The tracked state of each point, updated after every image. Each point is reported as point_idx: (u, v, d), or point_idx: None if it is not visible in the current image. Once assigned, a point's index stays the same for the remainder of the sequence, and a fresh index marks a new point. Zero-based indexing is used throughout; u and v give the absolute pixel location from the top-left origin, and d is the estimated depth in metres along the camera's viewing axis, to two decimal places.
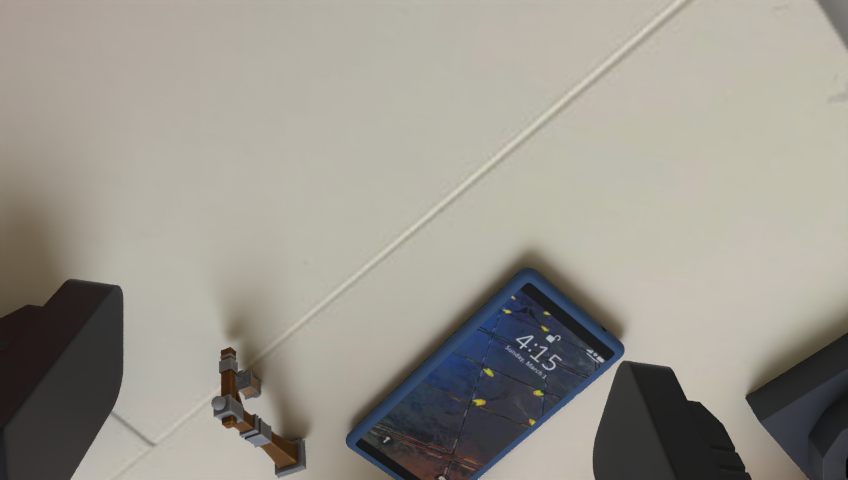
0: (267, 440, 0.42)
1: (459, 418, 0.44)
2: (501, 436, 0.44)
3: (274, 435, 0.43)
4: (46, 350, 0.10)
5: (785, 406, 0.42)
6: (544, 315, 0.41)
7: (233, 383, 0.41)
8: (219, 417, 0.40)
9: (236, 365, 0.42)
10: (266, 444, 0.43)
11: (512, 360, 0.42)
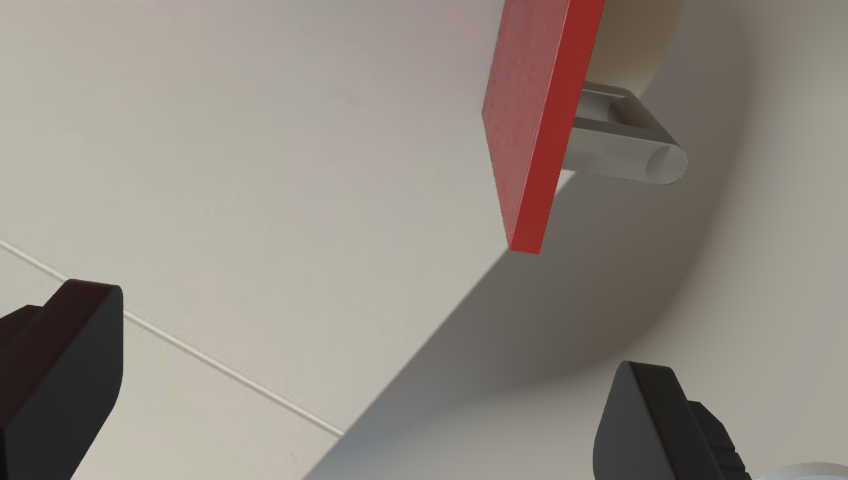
0: None
1: None
2: None
3: None
4: (46, 350, 0.10)
5: None
6: None
7: None
8: None
9: None
10: None
11: None
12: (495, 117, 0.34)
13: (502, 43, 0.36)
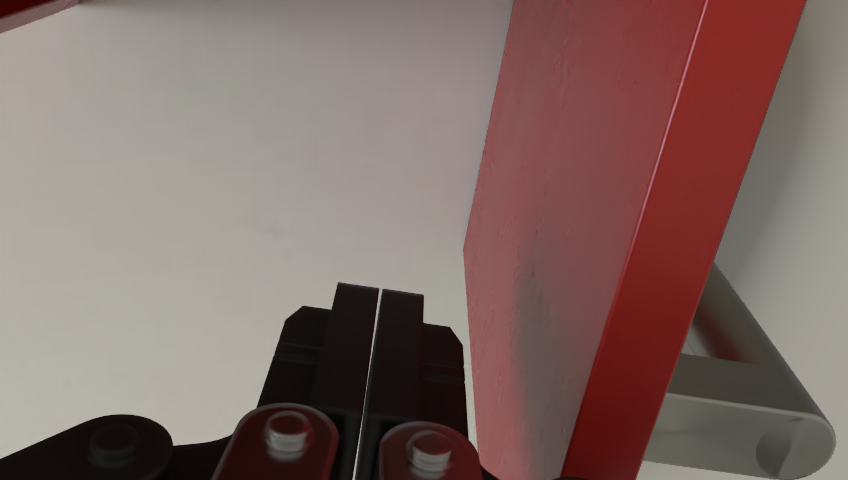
0: None
1: None
2: None
3: None
4: (357, 346, 0.11)
5: None
6: None
7: None
8: None
9: None
10: None
11: None
12: (479, 292, 0.21)
13: (491, 161, 0.22)
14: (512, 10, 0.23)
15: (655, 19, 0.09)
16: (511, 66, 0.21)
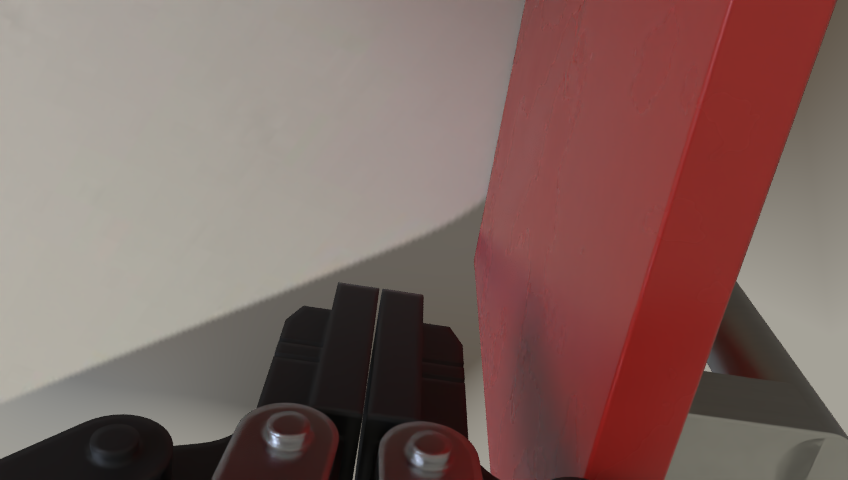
0: None
1: None
2: None
3: None
4: (357, 347, 0.11)
5: None
6: None
7: None
8: None
9: None
10: None
11: None
12: (491, 305, 0.20)
13: (502, 171, 0.22)
14: (522, 18, 0.23)
15: (670, 37, 0.09)
16: (521, 75, 0.21)
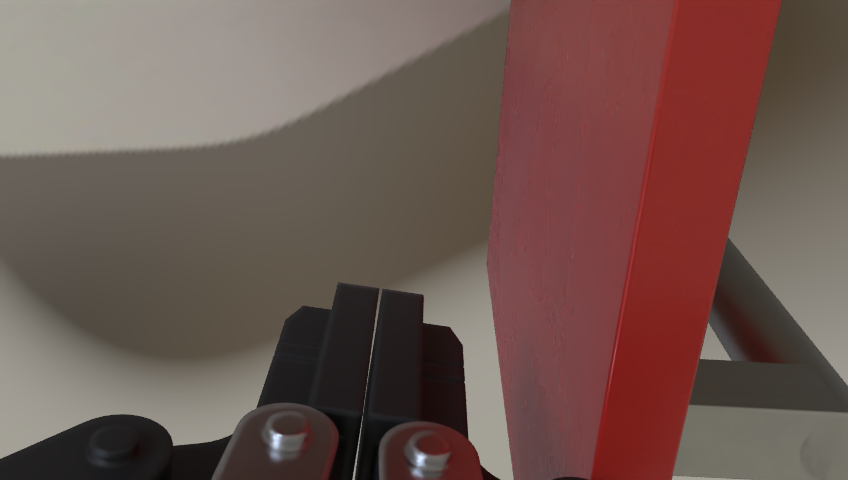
0: None
1: None
2: None
3: None
4: (357, 347, 0.11)
5: None
6: None
7: None
8: None
9: None
10: None
11: None
12: (503, 310, 0.20)
13: (503, 174, 0.22)
14: (509, 19, 0.23)
15: (629, 37, 0.09)
16: (512, 77, 0.21)
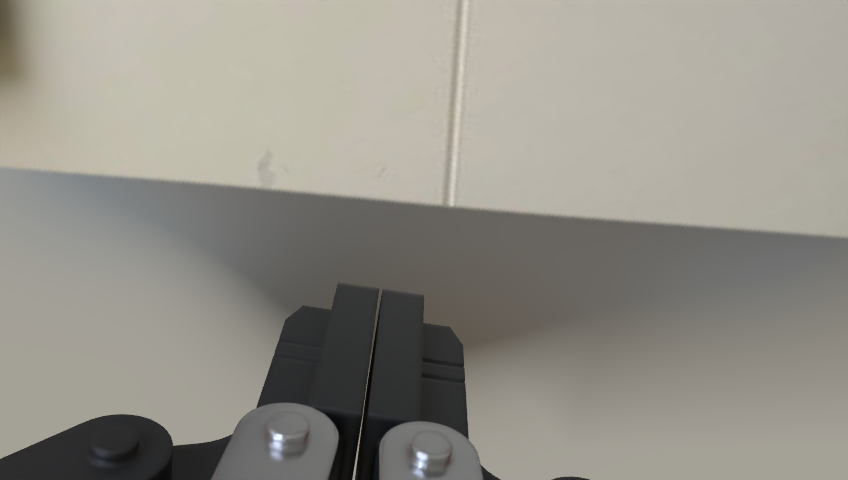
0: None
1: None
2: None
3: None
4: (357, 346, 0.11)
5: None
6: None
7: None
8: None
9: None
10: None
11: None
12: None
13: None
14: None
15: None
16: None
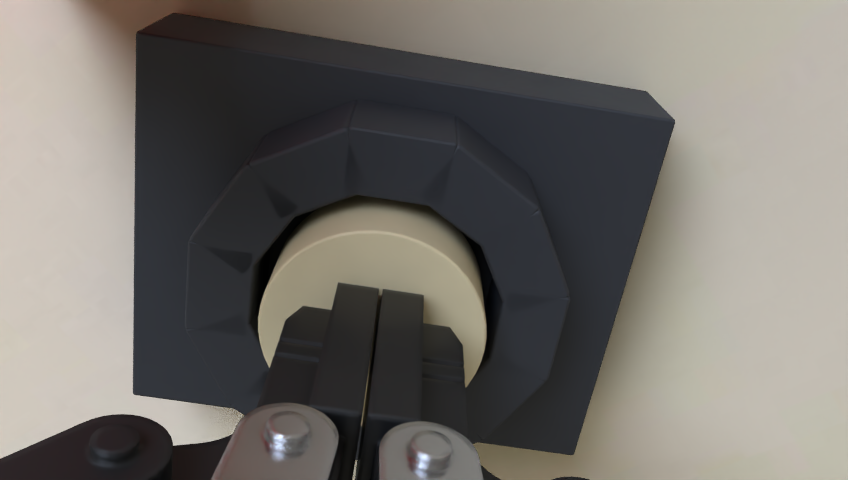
0: None
1: None
2: None
3: None
4: (356, 346, 0.11)
5: (651, 198, 0.15)
6: None
7: None
8: None
9: None
10: None
11: None
12: None
13: None
14: None
15: None
16: None
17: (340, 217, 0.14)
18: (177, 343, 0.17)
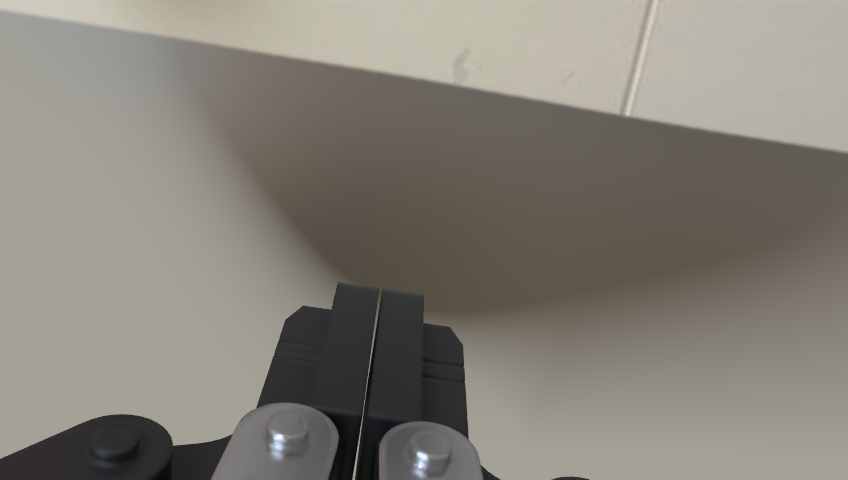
0: None
1: None
2: None
3: None
4: (357, 346, 0.11)
5: None
6: None
7: None
8: None
9: None
10: None
11: None
12: None
13: None
14: None
15: None
16: None
17: None
18: None
